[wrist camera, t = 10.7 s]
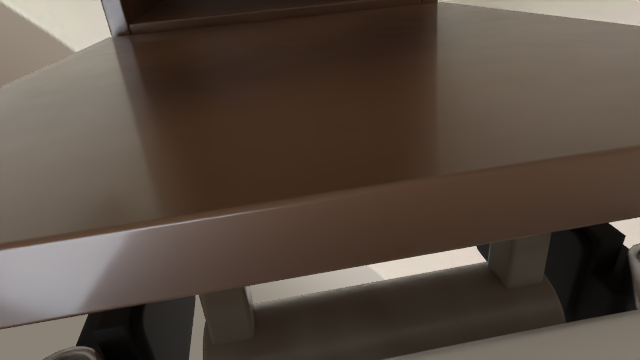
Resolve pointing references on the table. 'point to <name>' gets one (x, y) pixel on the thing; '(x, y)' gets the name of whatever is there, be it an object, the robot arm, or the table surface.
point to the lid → (318, 173)
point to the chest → (223, 12)
